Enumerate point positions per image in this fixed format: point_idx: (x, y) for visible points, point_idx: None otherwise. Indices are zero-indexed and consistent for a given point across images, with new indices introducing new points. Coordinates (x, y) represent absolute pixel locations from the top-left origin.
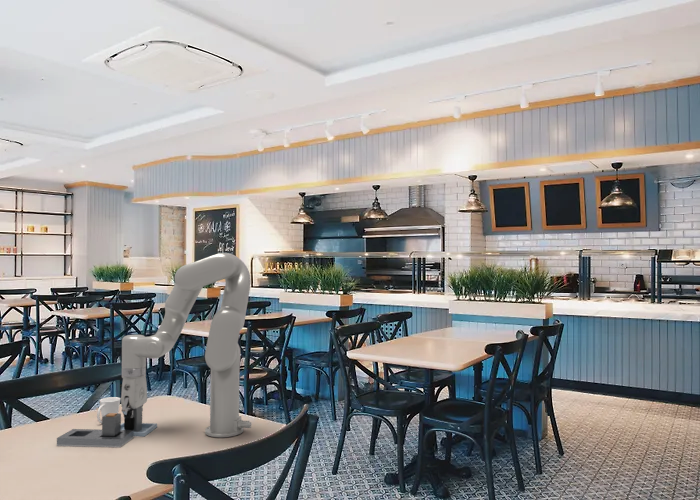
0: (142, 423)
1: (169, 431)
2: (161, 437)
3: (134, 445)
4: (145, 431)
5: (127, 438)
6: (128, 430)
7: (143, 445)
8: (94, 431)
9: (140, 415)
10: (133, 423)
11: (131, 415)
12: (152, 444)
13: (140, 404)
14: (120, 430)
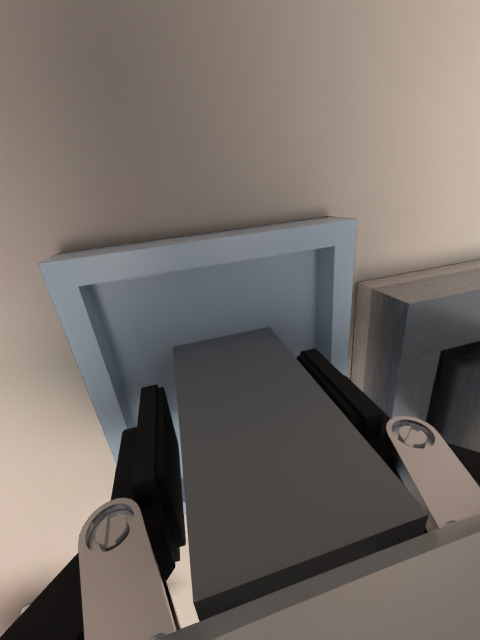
0: (102, 401)
1: (85, 46)
2: (295, 53)
3: (465, 203)
4: (324, 230)
5: (469, 276)
6: (411, 338)
7: (476, 130)
8: None
9: (224, 432)
10: (341, 377)
11: (442, 443)
12: (467, 54)
13: (452, 601)
14: (468, 367)
